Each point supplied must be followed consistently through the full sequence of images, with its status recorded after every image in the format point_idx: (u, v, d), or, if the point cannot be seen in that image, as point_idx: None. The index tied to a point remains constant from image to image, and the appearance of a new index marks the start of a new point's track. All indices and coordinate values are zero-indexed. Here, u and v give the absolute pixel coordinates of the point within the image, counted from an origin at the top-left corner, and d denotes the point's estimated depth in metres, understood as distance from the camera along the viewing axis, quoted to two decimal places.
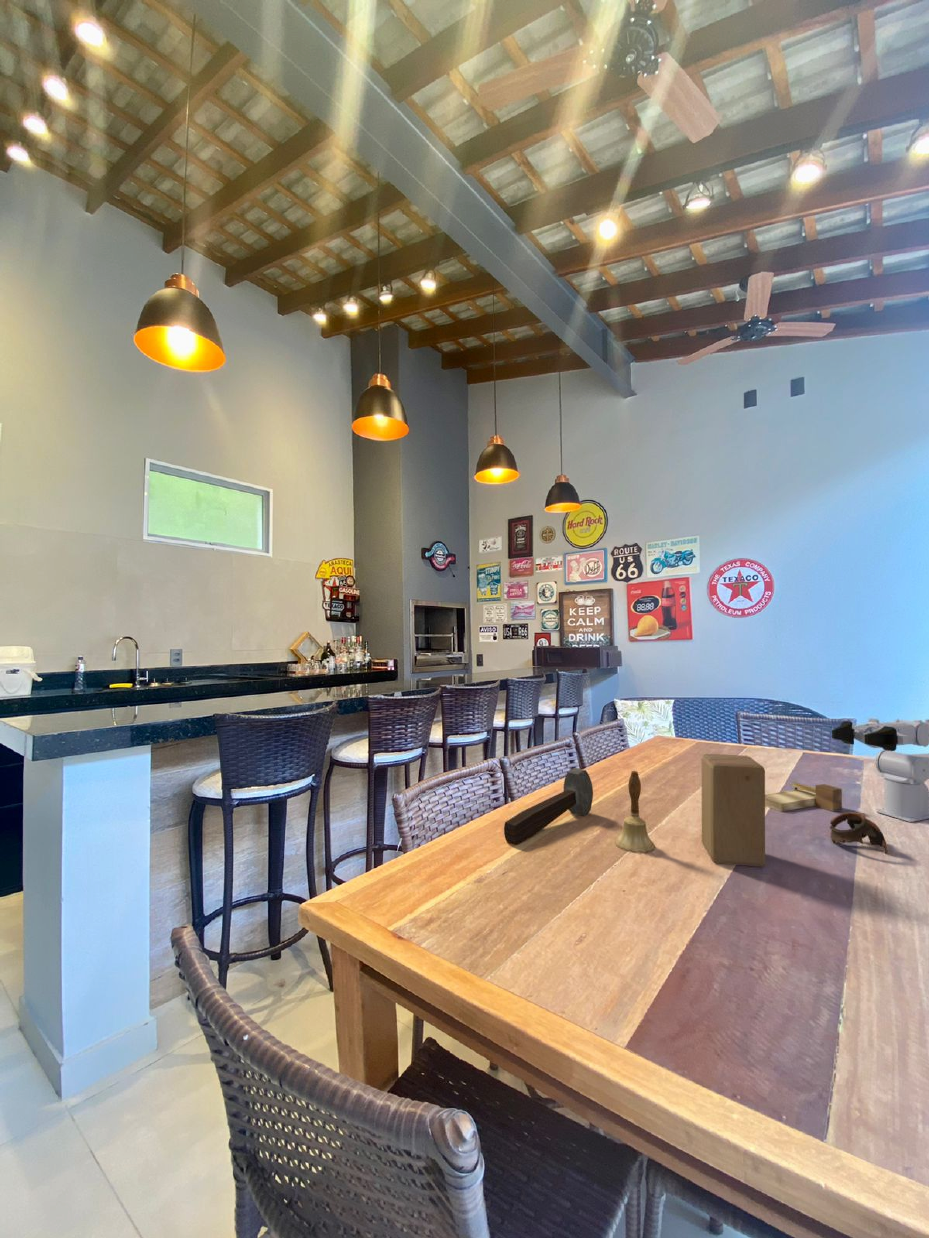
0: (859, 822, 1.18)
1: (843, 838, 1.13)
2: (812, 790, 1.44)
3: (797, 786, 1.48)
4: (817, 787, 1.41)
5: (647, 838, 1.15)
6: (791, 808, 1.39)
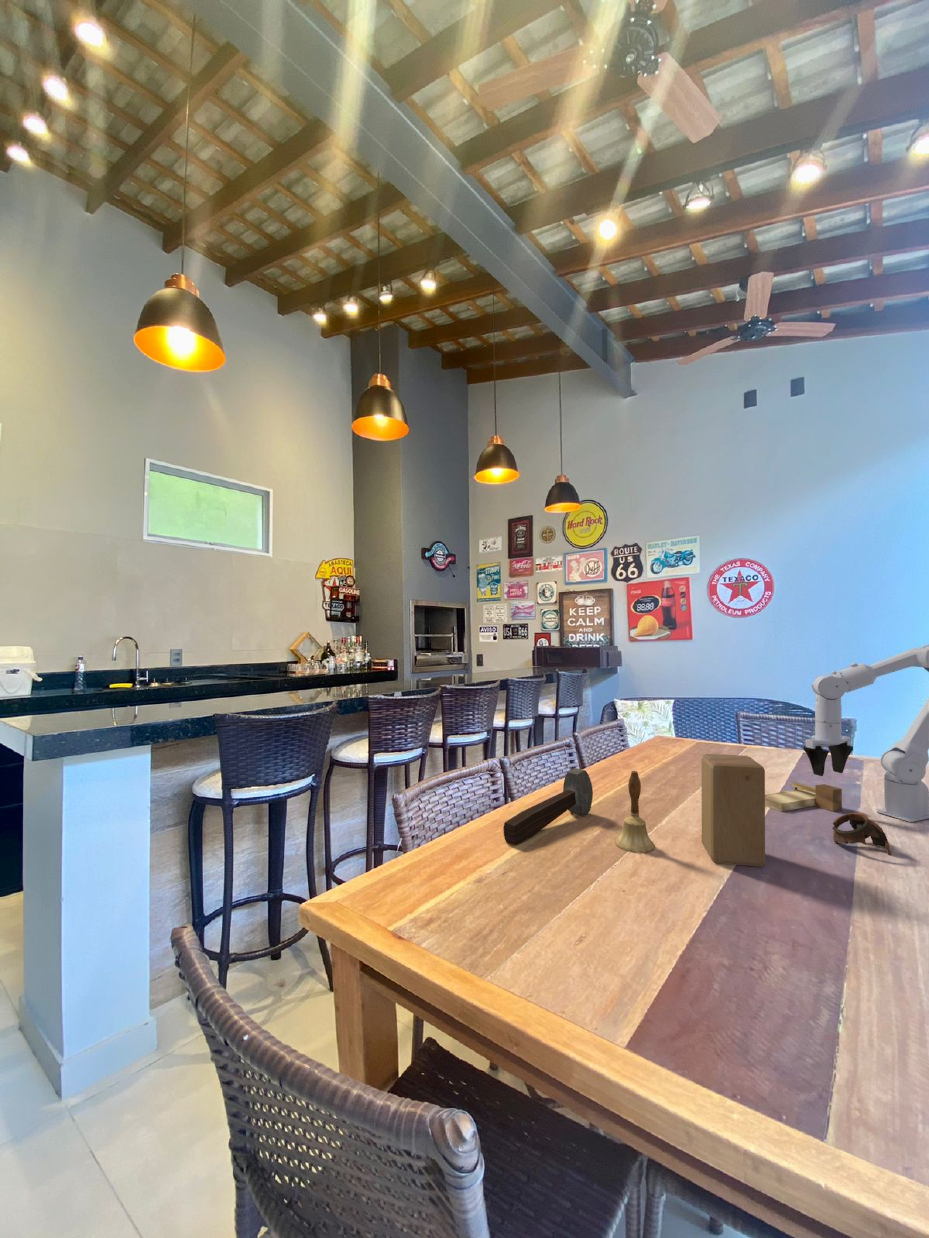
0: (862, 823, 1.18)
1: (846, 839, 1.13)
2: (812, 790, 1.44)
3: (797, 786, 1.48)
4: (817, 787, 1.41)
5: (647, 838, 1.15)
6: (791, 808, 1.39)
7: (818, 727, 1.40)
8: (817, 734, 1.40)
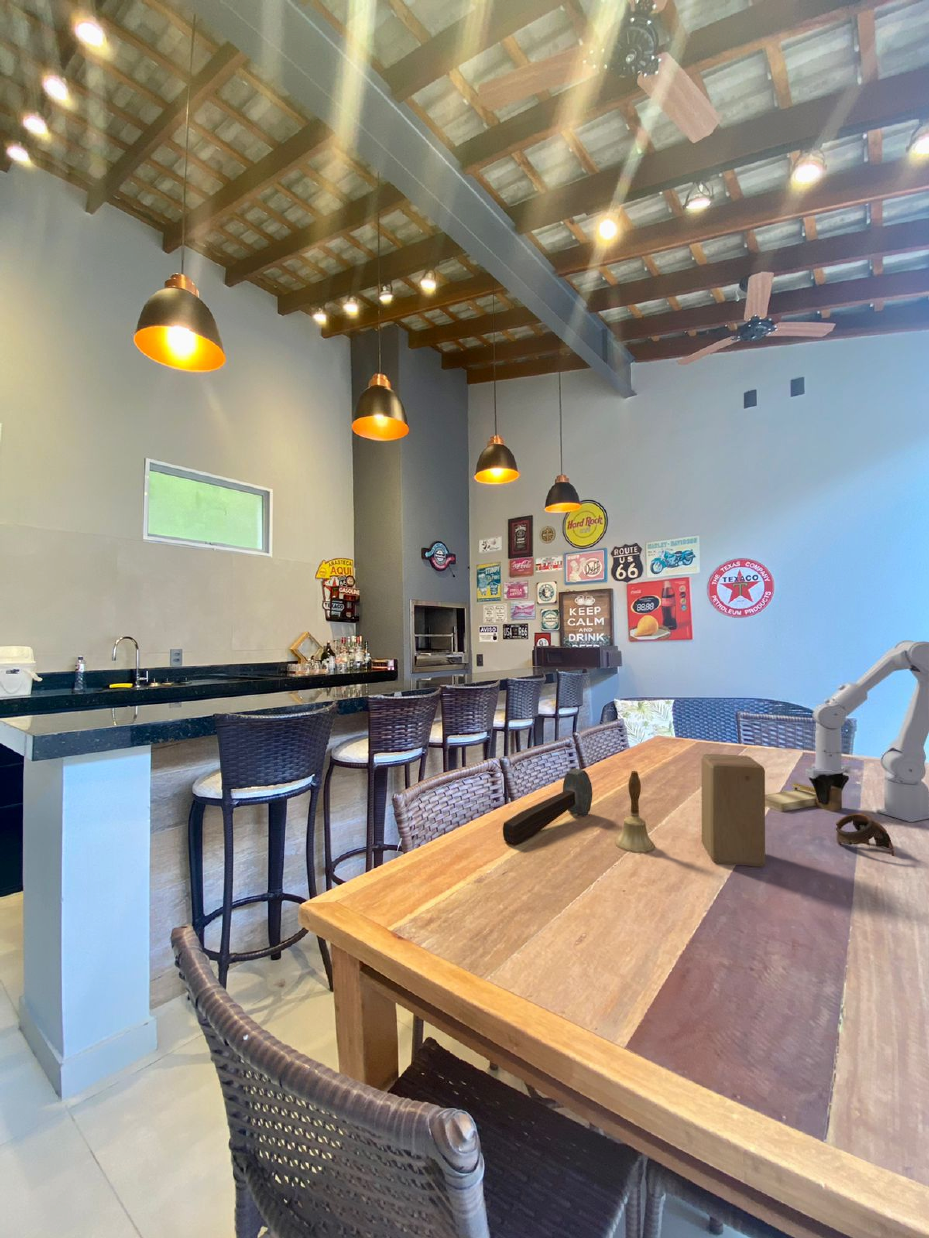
0: (865, 823, 1.17)
1: (850, 840, 1.13)
2: (812, 790, 1.44)
3: (797, 786, 1.48)
4: None
5: (647, 838, 1.15)
6: (791, 808, 1.39)
7: (818, 756, 1.40)
8: (817, 763, 1.40)
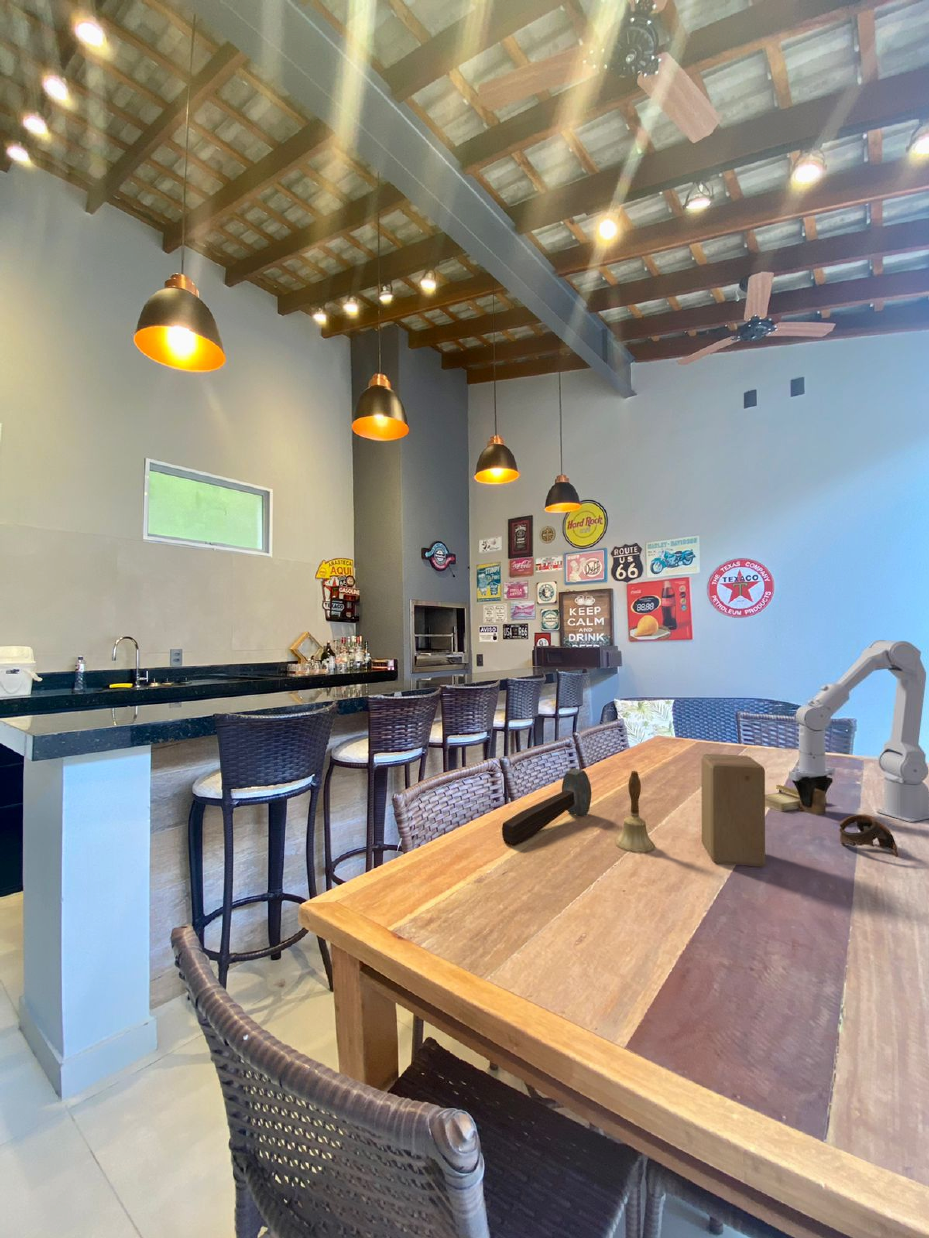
0: (868, 824, 1.17)
1: (854, 841, 1.12)
2: (796, 793, 1.41)
3: (781, 788, 1.45)
4: None
5: (647, 838, 1.15)
6: (791, 808, 1.39)
7: (801, 758, 1.38)
8: (801, 765, 1.38)
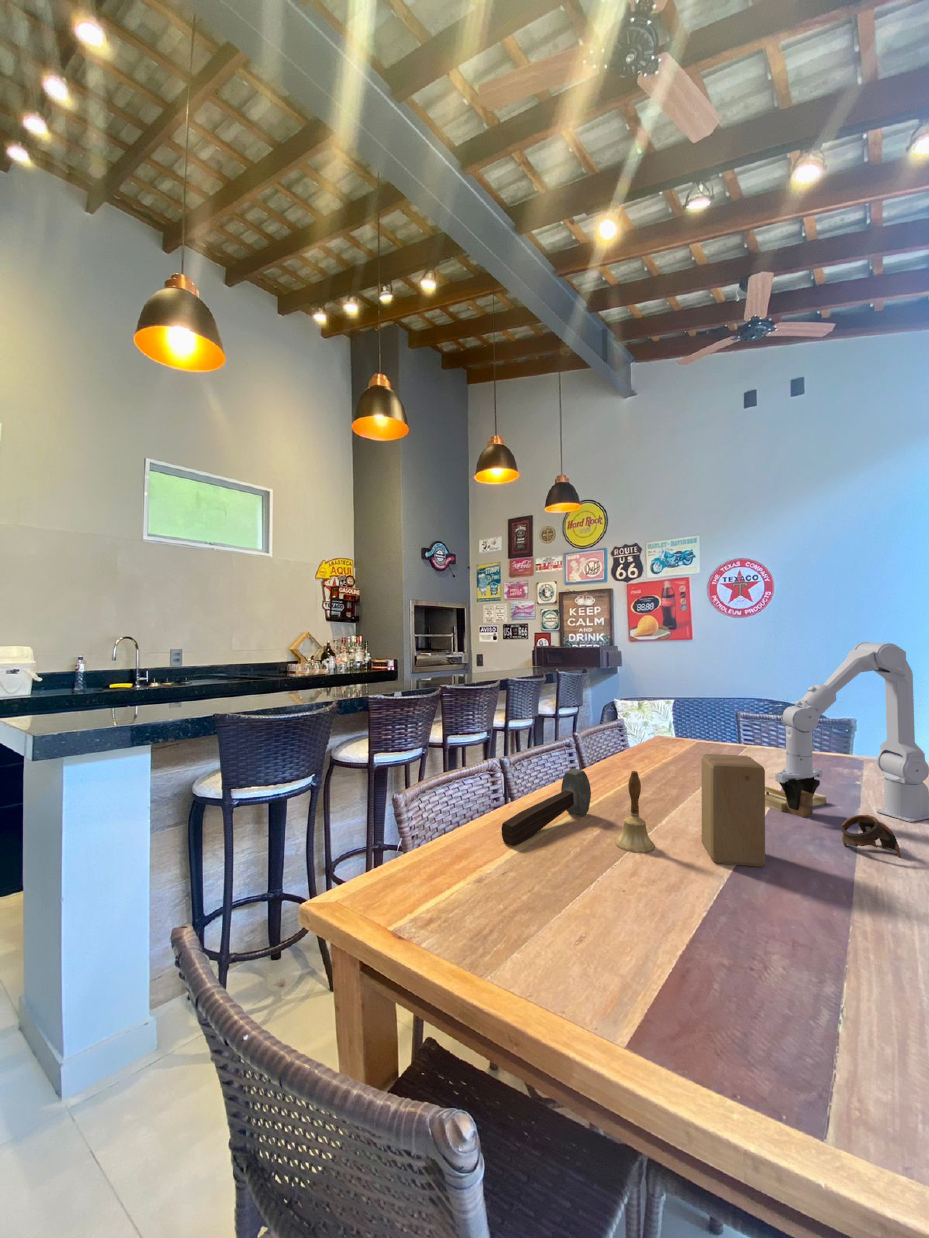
0: (870, 825, 1.16)
1: (856, 842, 1.12)
2: (783, 795, 1.40)
3: (768, 790, 1.44)
4: None
5: (647, 838, 1.15)
6: None
7: (788, 760, 1.36)
8: (788, 767, 1.36)
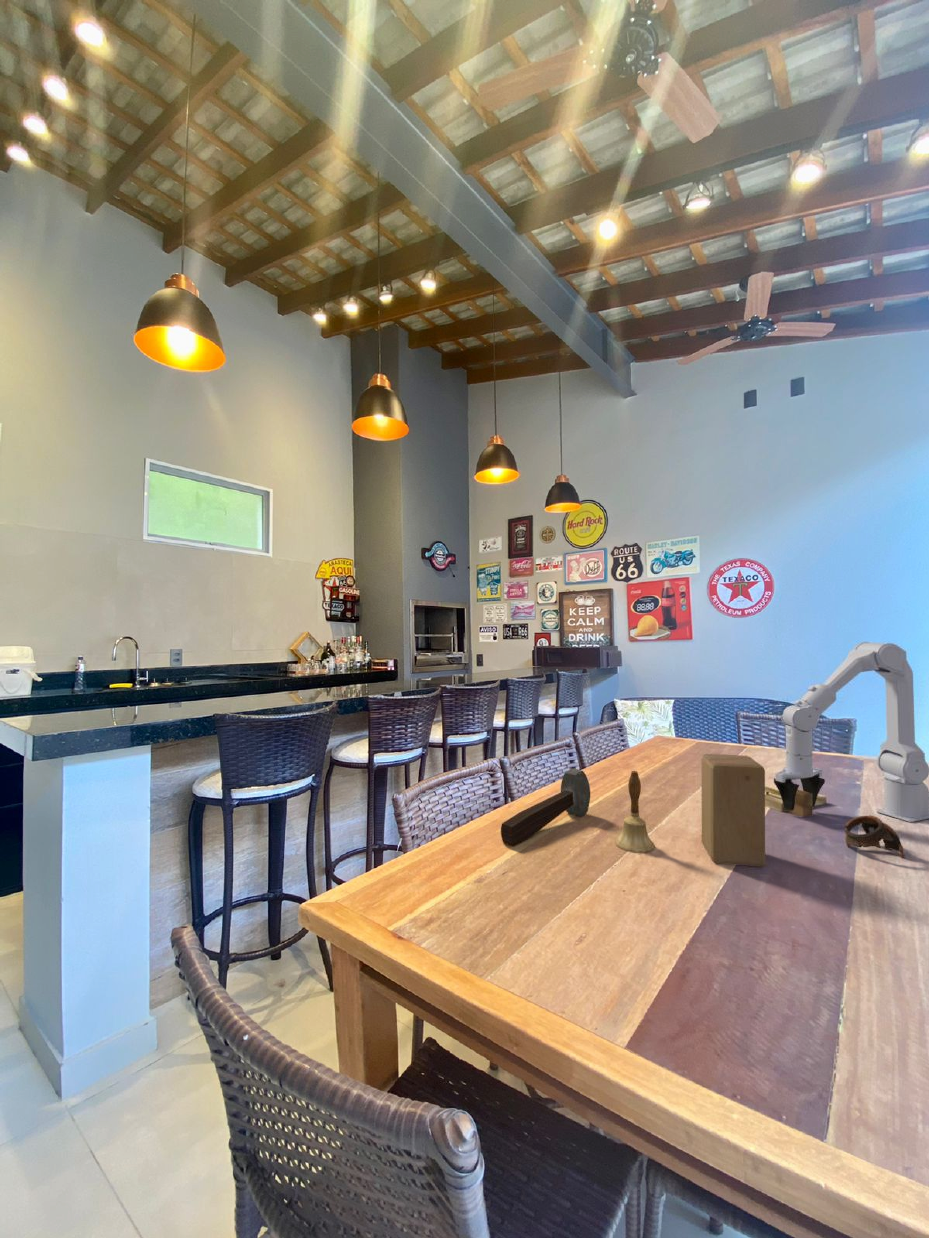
0: (874, 826, 1.16)
1: (860, 843, 1.11)
2: None
3: (768, 790, 1.44)
4: None
5: (647, 838, 1.15)
6: None
7: (788, 759, 1.36)
8: (788, 766, 1.36)
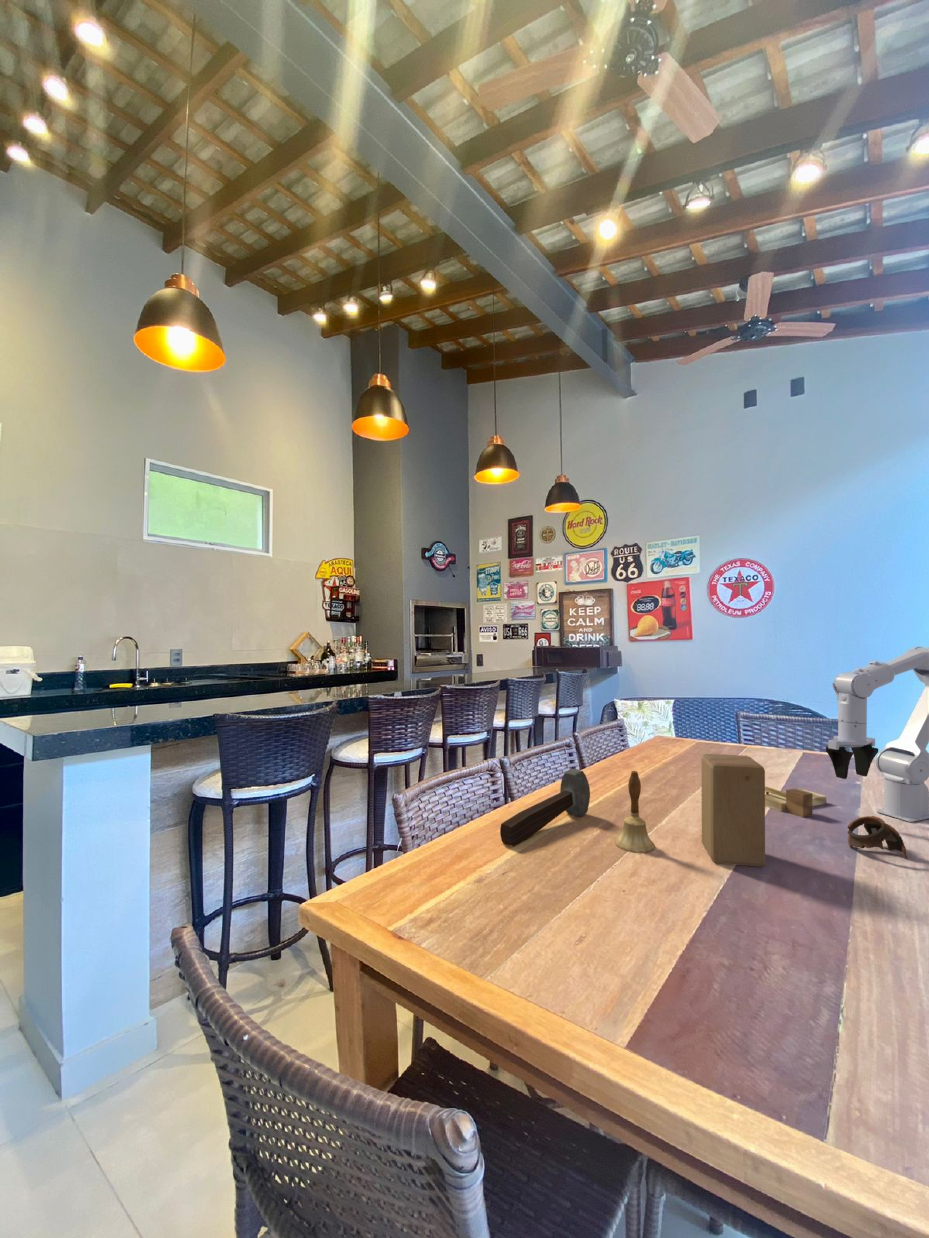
0: (876, 826, 1.16)
1: (863, 844, 1.11)
2: (783, 795, 1.40)
3: (768, 790, 1.44)
4: (787, 792, 1.37)
5: (647, 838, 1.15)
6: None
7: (841, 727, 1.32)
8: (840, 735, 1.33)
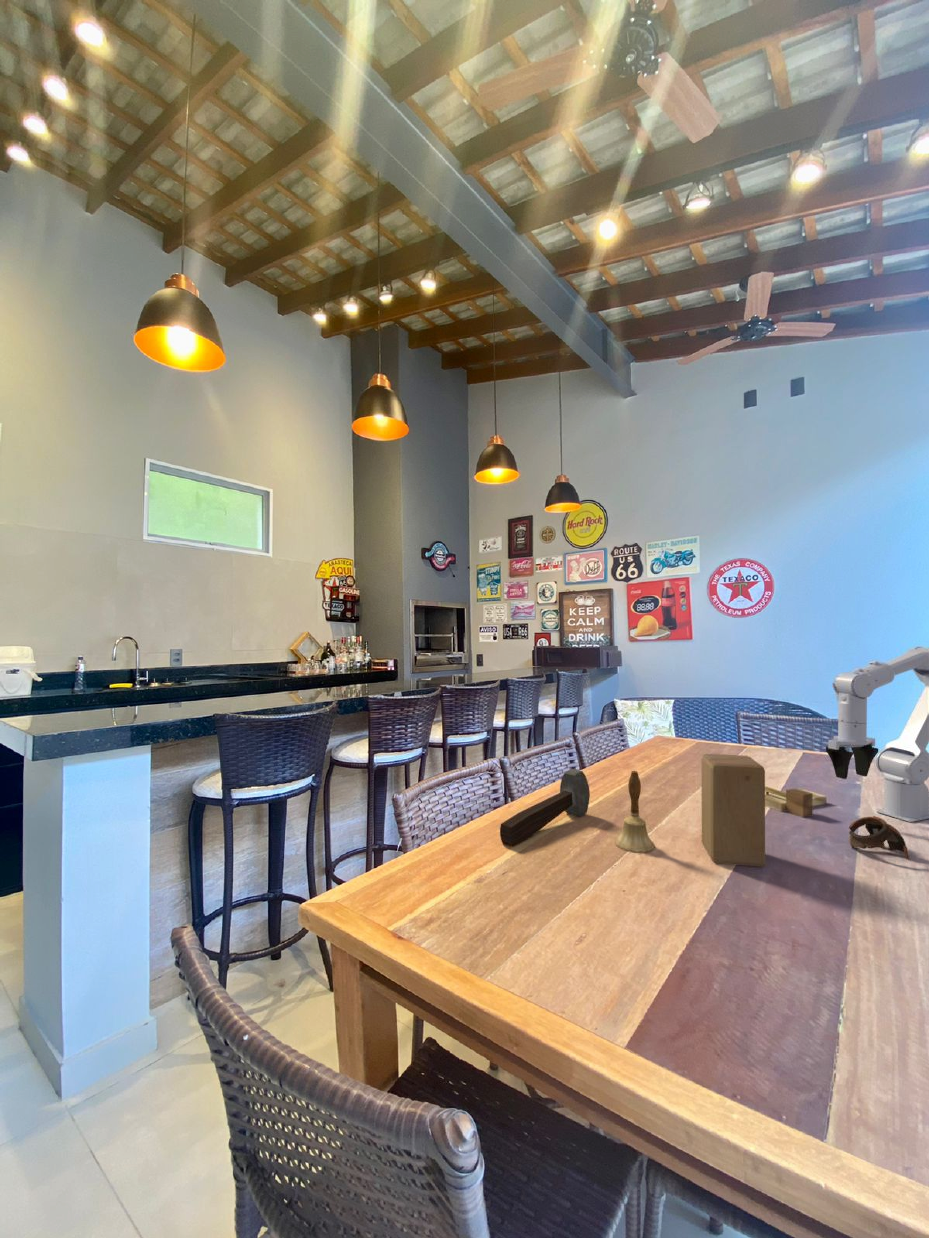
0: (878, 827, 1.15)
1: (864, 844, 1.11)
2: (783, 795, 1.40)
3: (768, 790, 1.44)
4: (787, 792, 1.37)
5: (647, 838, 1.15)
6: None
7: (841, 727, 1.32)
8: (840, 735, 1.33)
